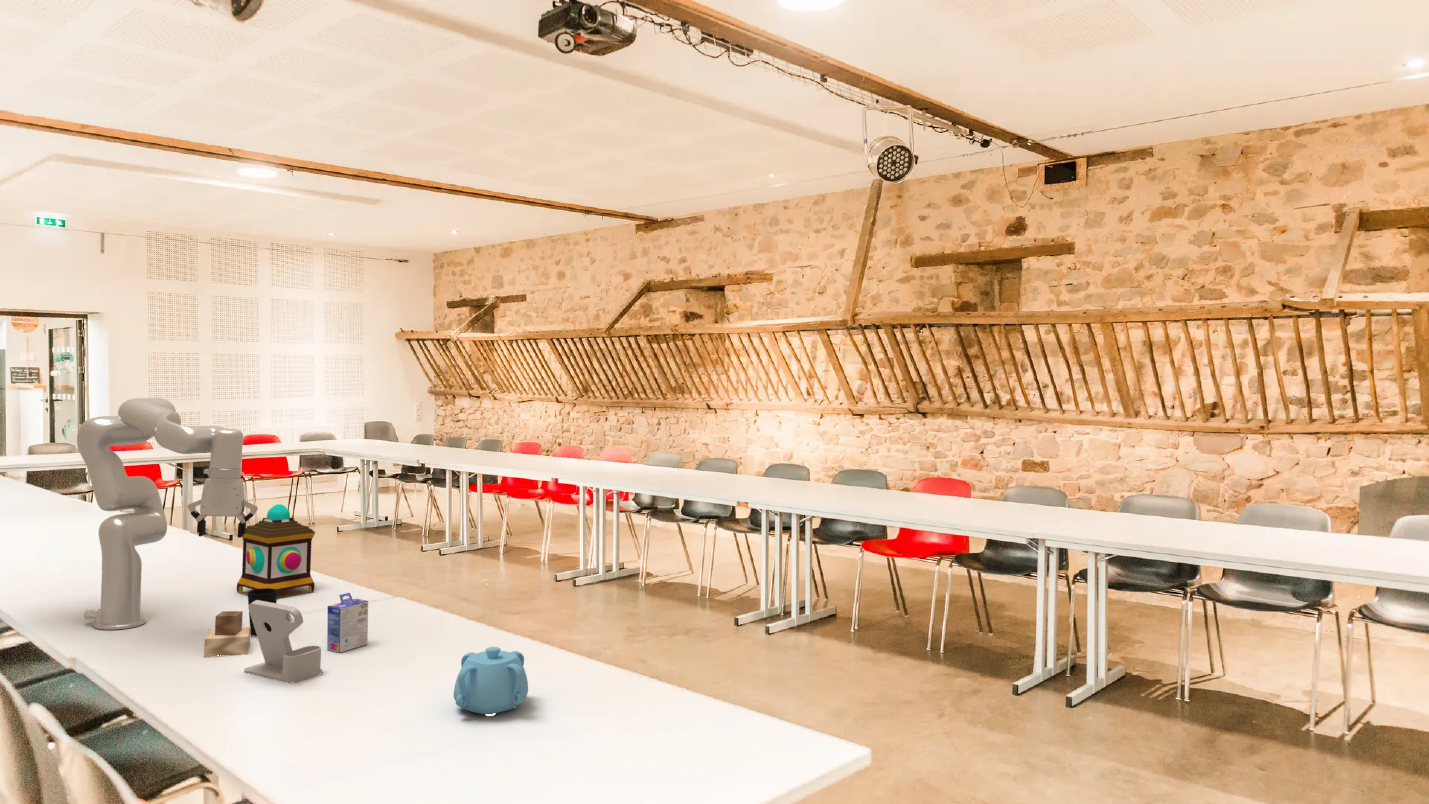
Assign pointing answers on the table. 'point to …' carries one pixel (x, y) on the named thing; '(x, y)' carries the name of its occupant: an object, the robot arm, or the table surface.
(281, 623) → the phone holder
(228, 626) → the walnut cube
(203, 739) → the table surface
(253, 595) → the cup
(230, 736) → the table surface
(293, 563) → the decorative lantern
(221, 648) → the oak block
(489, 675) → the decorative pot
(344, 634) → the ink cartridge box
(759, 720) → the table surface
